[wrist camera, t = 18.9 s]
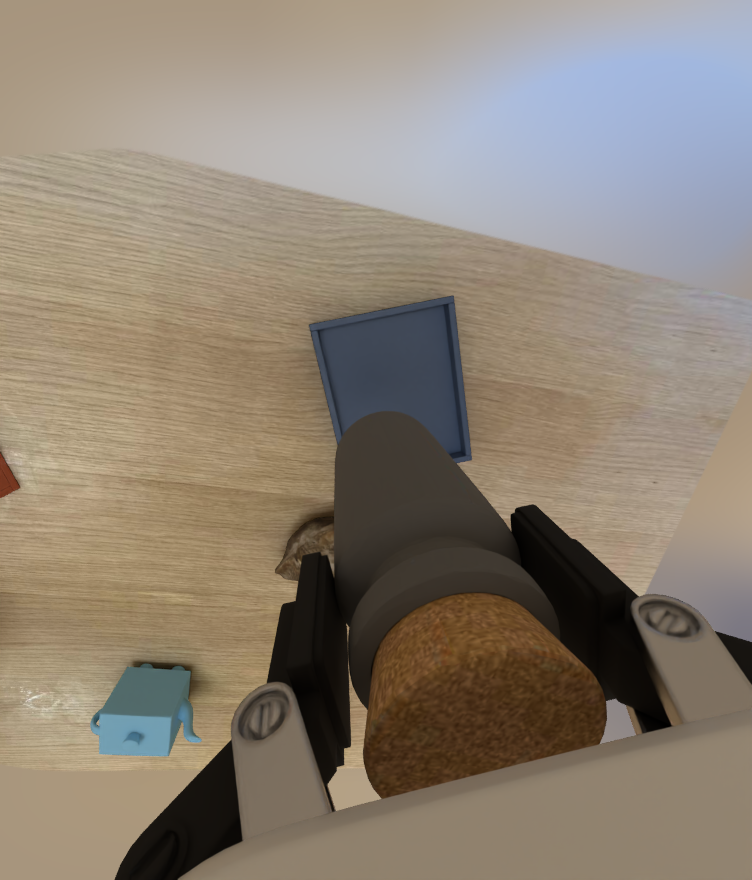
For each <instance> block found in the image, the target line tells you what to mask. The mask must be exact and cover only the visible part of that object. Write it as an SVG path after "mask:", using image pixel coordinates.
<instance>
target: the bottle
mask: <svg viewBox="0 0 752 880" xmlns="http://www.w3.org/2000/svg"><path fill="white" fill-rule="evenodd" d="M334 584H335V595H336V600H337V604H338V607H339V611H340V613H341V614H342V616H343V618H344V620H345V622H346V623H347V625H348V626H349V627H350V628H349V637H348V659H349V670H350V676H351V681H352V685H353V687H354V690H355V692H356V694H357V696H358V698H359V699H360V701H361V703H362V704H363V705H364V706H365V707H366V708H367V710H368V713H367V721H366V730H365V739H364V748H363V759H364V765H365V769H366V773H367V776H368V779H369V781H370V783H371V785H372V787H373V789H374V790H375V791H376V792H377V794H378V795H379V796H380V797H381V798H382V799H384V798H388V797H392V796H396V795H400V794H403V793H407V792H411V791H415V790H419V789H423V788H427V787H431V786H435V785H439V784H442V783H446V782H450V781H454V780H458V779H462V778H466V777H470V776H474V775H478V774H482V773H486V772H490V771H494V770H498V769H502V768H506V767H510V766H514V765H518V764H522V763H526V762H530V761H534V760H538V759H542V758H546V757H550V756H554V755H558V754H562V753H566V752H570V751H574V750H578V749H582V748H586V747H590V746H594V745H598V744H600V741H601V739H602V737H603V735H604V730H605V726H606V721H607V710H606V700H605V697H604V694H603V690H602V688H601V686H600V684H599V683H598V681H597V679H596V677H595V676H594V674H593V673H592V672H591V671H590V670H589V669H588V668H587V667H586V666H585V665H584V664H583V663H582V662H581V661H580V660H579V659H578V658H577V657H576V656H575V655H574V654H573V653H572V652H570V651H569V650H568V649H567V648H566V647H565V646H564V645H563V644H562V643H561V642H560V628H559V622H558V618H557V616H556V613H555V611H554V608H553V606H552V605H551V603H550V601H549V600H548V598H547V597H546V595H545V593H544V592H543V591H542V589H541V588H540V587H539V586H538V584H537V583H536V582H535V581H534V579H533V578H532V577H531V576H530V575H529V574H528V573H527V572H526V571H525V570H524V569H523V568H522V567H521V556H520V551H519V548H518V545H517V542H516V540H515V538H514V536H513V534H512V532H511V531H510V529H509V528H508V526H507V525H506V523H505V522H504V521H503V519H502V518H501V517H500V516H499V514H498V513H497V512H496V511H495V509H494V508H493V507H492V506H491V504H490V503H489V502H488V501H487V499H486V498H485V497H484V496H483V494H482V493H481V492H480V491H479V490H478V488H477V487H476V486H475V485H474V484H473V483H472V481H471V480H470V479H469V478H468V477H467V475H466V474H465V473H464V472H463V471H462V469H461V468H460V467H459V466H458V465H457V464H456V462H455V461H454V460H453V459H452V458H451V456H450V455H449V454H448V453H447V452H446V450H445V449H444V448H443V447H442V446H441V444H440V443H439V442H438V441H437V440H436V439H435V437H434V436H433V435H432V434H431V433H430V432H429V431H428V429H427V428H425V427H424V426H423V425H422V424H421V423H420V422H419V421H417V420H416V419H415V418H413V417H411V416H409V415H407V414H404V413H401V412H396V411H380V412H376V413H371V414H369V415H366V416H364V417H362V418H360V419H359V420H357V421H356V422H355V423H354V424H352V425H351V426H350V427H349V428H348V429H347V431H346V432H345V433H344V435H343V436H342V438H341V440H340V442H339V445H338V447H337V452H336V458H335V492H334Z"/></svg>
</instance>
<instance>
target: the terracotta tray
mask: <svg viewBox="0 0 752 880" xmlns="http://www.w3.org/2000/svg"><path fill="white" fill-rule="evenodd" d="M19 488H20V487H19V485H18V483H17V482H16V480H15V478H14V476H13V475H12V473H11V471H10V469H9V467H8V466H7V464H6V462H5V460H4V459H3V457H2V455H1V453H0V498H2V497H4V496H5V495H7V494H9V493H11V492H13V491H15V490H17V489H19Z"/></svg>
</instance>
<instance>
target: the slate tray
mask: <svg viewBox="0 0 752 880" xmlns="http://www.w3.org/2000/svg"><path fill="white" fill-rule="evenodd" d="M309 327H310V331H311V336H312V340H313V344H314V348H315V352H316V357H317V361H318V365H319V369H320V373H321V378H322V382H323V386H324V390H325V394H326V398H327V403H328V407H329V411H330V415H331V419H332V424H333V428H334V432H335V436H336V440H337V444H338V445H339V442H340V440H341V438H342V436H343V435H344V433H345V432H346V431H347V429H348V428H349V427H350V426H351V425H352V424H354V423H355V422H356V421H357V420H359V419H360V418H362V417H364V416H366V415H369V414H371V413H376V412H380V411H396V412H401V413H404V414H407V415H409V416H411V417H413V418H415V419H416V420H417V421H419V422H420V423H421V424H422V425H423V426H424V427H425V428H427V429H428V431H429V432H430V433H431V434H432V435H433V436H434V437H435V439H436V440H437V441H438V442H439V443H440V444H441V446H442V447H443V448H444V449H445V450H446V452H447V453H448V454H449V455H450V456H451V458H452V459H453V460H454V461H455V462H456V463H460V462H465V461H469V460H472V456H471V447H470V438H469V429H468V420H467V411H466V402H465V393H464V384H463V375H462V366H461V357H460V348H459V339H458V330H457V321H456V312H455V303H454V296H449V297H444V298H439V299H434V300H429V301H424V302H419V303H414V304H409V305H404V306H399V307H394V308H389V309H384V310H379V311H374V312H369V313H364V314H359V315H354V316H349V317H344V318H339V319H334V320H329V321H324V322H319V323H314V324H310V325H309Z"/></svg>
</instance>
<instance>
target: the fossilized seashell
mask: <svg viewBox="0 0 752 880" xmlns="http://www.w3.org/2000/svg"><path fill="white" fill-rule="evenodd" d="M315 552H321V555H322V556H323V555H328V558H329V561H330V565H331V569H332V572H333V576H334V517H323V518H316V519H314V520H311V521H310V522H308V523H306V524H304V525H303V526H302V527H301V528H300V529H299V530H298V531H296V532H295V533H294V534H293V535H292V537H291V538H290V539H289V540H288V543H287V547H286V551H285V554H284V557H283V559H282V561H281V562H280V564H279V565H278V566H277V568H276V569H275V573H276V574H280V575H281V576H282V577H283V578H284V579H287V580H295V581H299V575H300V568H301V561H302V556H303V555H306V554H311V553H315Z"/></svg>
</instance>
